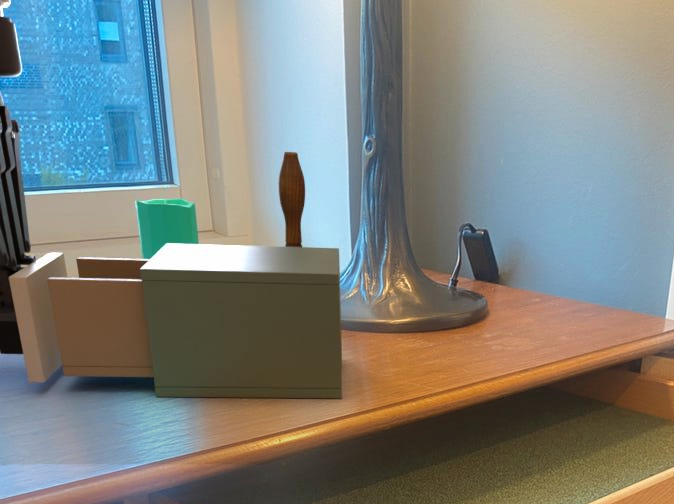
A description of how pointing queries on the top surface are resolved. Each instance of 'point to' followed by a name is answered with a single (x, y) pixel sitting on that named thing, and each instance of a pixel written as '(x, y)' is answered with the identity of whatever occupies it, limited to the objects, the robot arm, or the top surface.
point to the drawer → (81, 318)
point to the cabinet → (244, 321)
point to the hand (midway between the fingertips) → (20, 351)
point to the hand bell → (292, 198)
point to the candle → (165, 224)
